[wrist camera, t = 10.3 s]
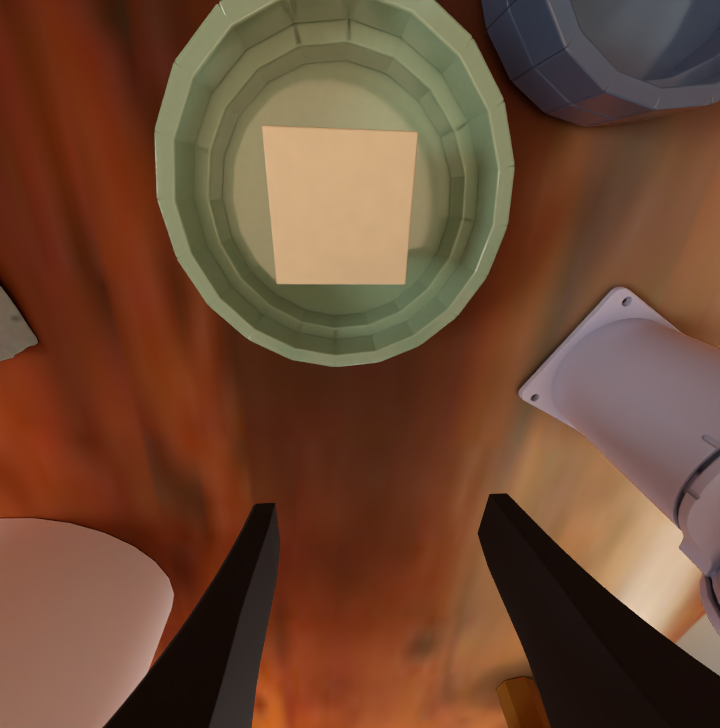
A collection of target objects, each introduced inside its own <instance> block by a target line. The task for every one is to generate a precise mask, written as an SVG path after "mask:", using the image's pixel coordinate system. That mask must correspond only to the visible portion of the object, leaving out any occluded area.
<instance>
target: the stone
mask: <svg viewBox="0 0 720 728" xmlns="http://www.w3.org/2000/svg"><path fill="white" fill-rule="evenodd" d="M37 343H38V341H37V338H36V336H35V335H34V334H33V332H32V331H31V329H30V328H29V326H28V325H27V323H26V322H25V320H24V319H23V317H22V315H21V314H20V312H19V311H18V309H17V308H16V306H15V305H14V304H13V302H12V301H11V299H10V298H9V297H8V295H7V294H6V293H5V291H4V290H3V289H2V287H1V286H0V361H2V360H6V359H10V358H13V357H14V355H15V354H17V353H19V352H21V351H23V350H24V349H26V348H27V347H28V346H32V345H36V344H37Z"/></svg>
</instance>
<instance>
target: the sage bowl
mask: <svg viewBox="0 0 720 728" xmlns="http://www.w3.org/2000/svg"><path fill="white" fill-rule="evenodd" d="M503 100H504V99H503V96H502V94H501V92H500V90H499V88H498V86H497V84H496V82H495V80H494V78H493V76H492V74H491V72H490V70H489V68H488V66H487V64H486V62H485V60H484V58H483V56H482V54H481V52H480V50H479V48H478V46H477V44H476V42H475V40H474V39H472V36H471V35H470V34H469V33H468V32H467V31H466V30H465V29H464V28H463V27H462V26H461V25H460V24H459V23H458V22H457V21H456V20H455V19H454V18H453V17H452V16H451V15H450V14H449V13H448V12H447V11H446V10H444V9H443V8H442V7H441V6H440V5H439V4H438V3H437V2H436V1H435V0H221V1H220V2H219V4H216V5H215V7H214V8H213V10H212V11H211V12H210V14H209V15H208V16H207V18H206V19H205V20H204V22H203V23H202V24H201V26H200V27H199V29H198V30H197V31H196V33H195V34H194V35H193V37H192V38H191V39H190V41H189V42H188V43H187V45H186V46H185V47H184V49H183V50H182V52H181V53H180V54H179V56H178V57H177V58H176V60H175V62H174V63H173V66H172V70H171V73H170V77H169V80H168V84H167V87H166V91H165V94H164V98H163V101H162V105H161V108H160V112H159V115H158V119H157V122H156V126H155V133H154V135H155V162H156V190H157V198H158V203H159V206H160V209H161V212H162V215H163V219H164V222H165V225H166V228H167V231H168V234H169V237H170V240H171V243H172V246H173V249H174V252H175V255H176V257H177V260H178V261H179V263H180V264H181V266H182V267H183V269H184V270H185V272H186V273H187V275H188V276H189V278H190V279H191V281H192V282H193V284H194V285H195V287H196V288H197V290H198V291H199V293H200V294H201V296H202V297H203V299H204V300H205V301H206V303H207V304H208V305H209V306H210V307H211V308H212V309H213V310H214V311H215V312H217V313H218V314H219V315H220V316H221V317H222V318H224V319H225V320H226V321H227V322H228V323H229V324H230V325H232V326H233V327H234V328H235V329H236V330H237V331H239V332H240V333H241V334H242V335H243V336H244V337H246V338H247V339H249V340H250V341H252V342H254V343H257V344H259V345H261V346H263V347H265V348H267V349H269V350H271V351H274V352H276V353H278V354H280V355H282V356H284V357H286V358H288V359H291V360H296V361H302V362H308V363H314V364H320V365H326V366H331V367H341V366H350V365H359V364H368V363H377V362H378V361H379V362H381V361H383V360H386V359H388V358H391V357H393V356H396V355H398V354H401V353H403V352H406V351H408V350H411V349H413V348H415V347H418V346H420V345H421V344H423V343H424V342H425V341H426V340H428V339H429V338H430V337H432V336H433V335H434V334H436V333H437V332H438V331H439V330H441V329H442V328H443V327H445V326H446V325H447V324H448V323H450V322H451V321H452V320H454V319H455V318H456V316H458V315H459V314H460V312H461V311H462V310H463V308H464V307H465V306H466V304H467V303H468V302H469V300H470V299H471V298H472V296H473V295H474V294H475V292H476V291H477V290H478V288H479V287H480V286H481V284H482V283H483V282H484V280H485V279H486V276H488V274H489V271H490V269H491V266H492V264H493V261H494V259H495V256H496V254H497V251H498V249H499V246H500V244H501V241H502V239H503V236H504V234H505V231H506V229H507V225H508V221H509V212H510V204H511V195H512V187H513V178H514V170H515V166H514V164H515V163H514V157H513V150H512V144H511V138H510V132H509V125H508V119H507V113H506V107H505V102H504V101H503ZM263 125H272V126H297V127H322V128H348V129H373V130H398V131H417V132H418V142H417V154H416V166H415V177H414V189H413V201H412V212H411V224H410V236H409V247H408V259H407V271H406V283H405V284H277V282H276V271H275V261H274V250H273V239H272V229H271V218H270V208H269V197H268V187H267V176H266V166H265V155H264V144H263V134H262V126H263Z"/></svg>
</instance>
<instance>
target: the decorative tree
mask: <svg viewBox="0 0 720 728" xmlns="http://www.w3.org/2000/svg"><path fill="white" fill-rule="evenodd" d="M496 691H497V695H498V698H499V701H500V704H501V707H502V710H503V713H504V716H505V719H506V722H507V725H508V728H551V727H550V724H549V721H548V718H547V715H546V711H545V708H544V705H543V702H542V699H541V696H540V694H539V691H538V689H537V686H536V684H535V682H534V681H533V680H531V679H529V678H526V677H519V678H515V679H510V680H505V681H504V682H503V683H502V684H501V685H500V686H499V687H498V688H497V689H496Z"/></svg>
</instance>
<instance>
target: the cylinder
mask: <svg viewBox="0 0 720 728" xmlns="http://www.w3.org/2000/svg"><path fill="white" fill-rule="evenodd" d="M173 597H174V592H173V589H172V586H171V583H170V580H169V578H168V577H167V575H166V574H165V573H164V572H163V570H162V569H161V568H160V567H159V566H158V564H157V563H156V562H155V561H154V560H152V559H151V558H149V557H148V556H147V555H145V554H144V553H142V552H141V551H140V550H138V549H137V548H136V547H134V546H132V545H130V544H128V543H126V542H123V541H121V540H119V539H117V538H115V537H113V536H110V535H108V534H106V533H104V532H100V531H96V530H93V529H89V528H86V527H82V526H79V525H75V524H72V523H66V522H59V521H51V520H44V519H36V518H2V519H0V728H103V726H104V725H105V724H106V723H107V722H108V721H109V719H110V718H111V717H112V716H113V715H114V713H115V712H116V711H117V710H118V709H119V708H120V706H121V705H122V704H123V703H124V702H125V700H126V699H127V698H128V697H129V695H130V694H131V693H132V692H133V690H134V689H135V688H136V687H137V686H138V684H139V683H140V682H141V680H142V679H143V678H144V677H145V675H146V674H147V672H148V670H149V667H150V664H151V662H152V659H153V656H154V654H155V651H156V649H157V646H158V643H159V641H160V638H161V635H162V633H163V630H164V627H165V625H166V622H167V619H168V617H169V614H170V611H171V609H172V603H173Z"/></svg>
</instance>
